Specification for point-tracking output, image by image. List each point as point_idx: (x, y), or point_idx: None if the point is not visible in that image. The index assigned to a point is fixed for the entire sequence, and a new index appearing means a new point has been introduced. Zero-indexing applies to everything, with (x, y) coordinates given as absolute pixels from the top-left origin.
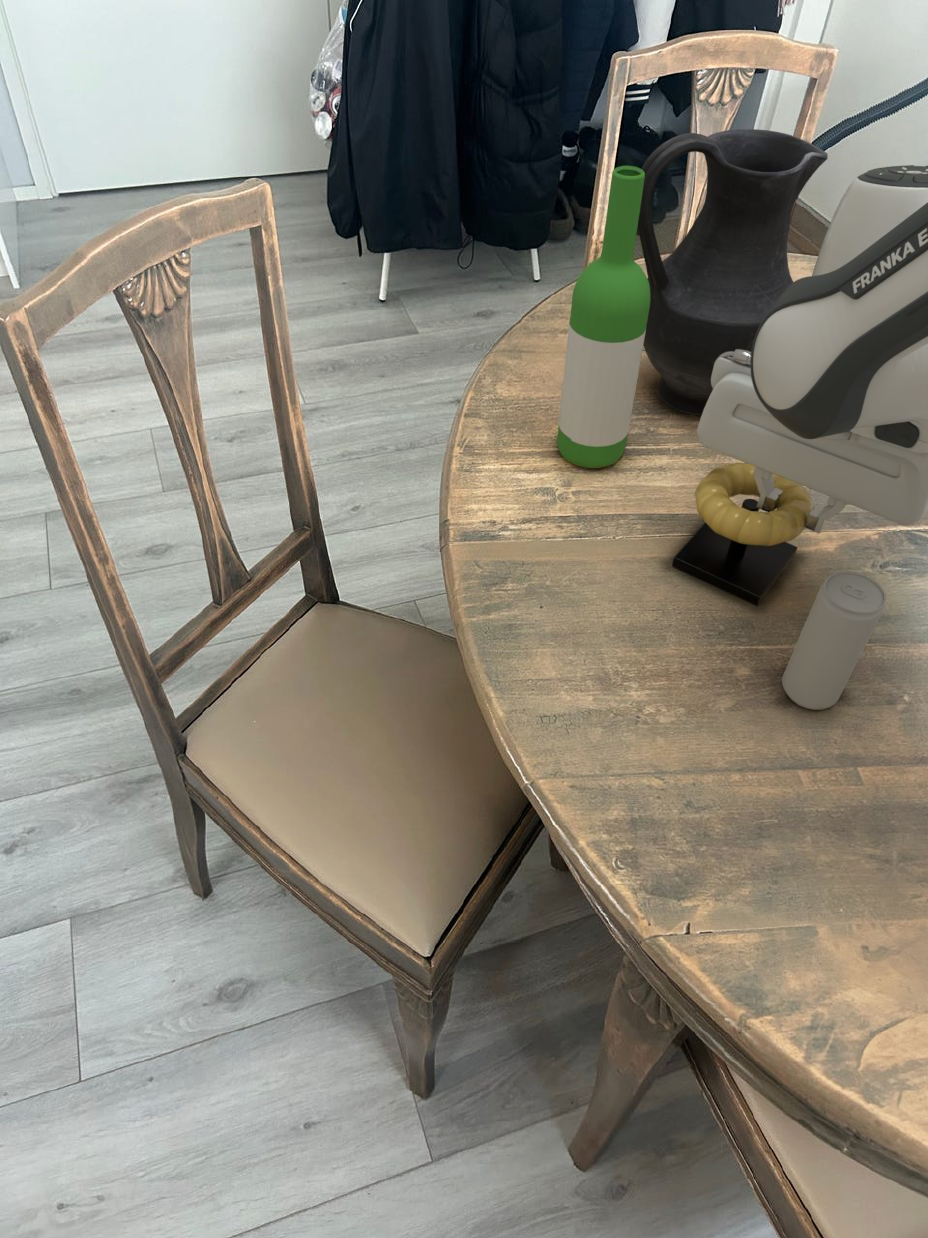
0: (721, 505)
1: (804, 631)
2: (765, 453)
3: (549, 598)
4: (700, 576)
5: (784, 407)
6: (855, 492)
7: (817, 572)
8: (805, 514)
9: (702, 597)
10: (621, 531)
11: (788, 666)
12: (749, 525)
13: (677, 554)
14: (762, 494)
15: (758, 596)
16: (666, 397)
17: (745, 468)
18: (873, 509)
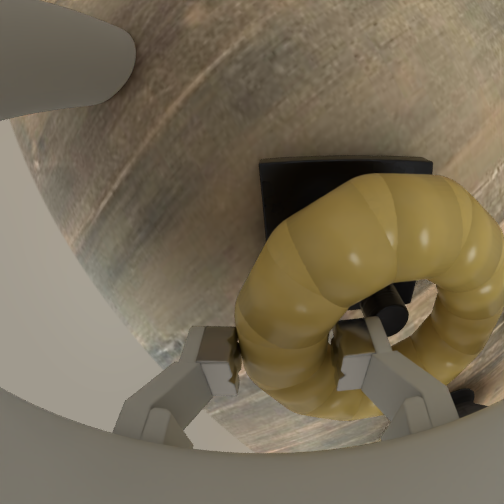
0: (476, 238)
1: (45, 5)
2: (474, 487)
3: (488, 11)
4: (376, 156)
5: None
6: (57, 466)
7: (228, 294)
8: (249, 359)
9: (348, 115)
10: (495, 188)
11: (110, 27)
12: (374, 210)
13: (431, 172)
14: (387, 351)
15: (262, 163)
16: (470, 392)
17: None
18: (24, 414)
